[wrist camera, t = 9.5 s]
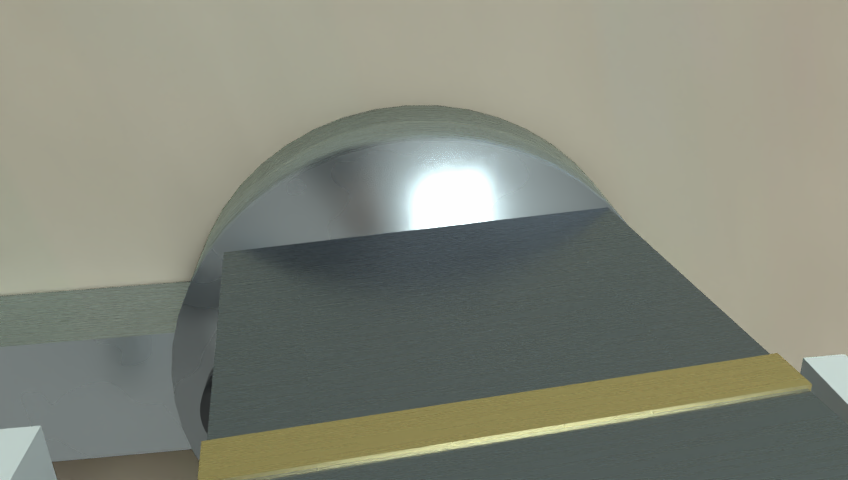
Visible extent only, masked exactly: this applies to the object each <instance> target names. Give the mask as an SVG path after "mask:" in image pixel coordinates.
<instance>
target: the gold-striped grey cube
mask: <svg viewBox="0 0 848 480" xmlns="http://www.w3.org/2000/svg"><path fill="white" fill-rule="evenodd" d="M811 388H812V384H811V383H810V382H809V381H808V380H807V379H806V378H805V377H804V376H802V375H801V374H800V373H799V372H798V371H797V370H796V369H795V368H793V367H792V366H791V365H790V364H789V363H788V362H787V361H786V360H784V359H783V358H782V357H781V356H780V355H779V354H778V353H775V354H769V353H768V352H767V351H766V350H765V349H764V348H763V347H761V346H760V345H759V344H758V343H757V342H756V341H755V340H754V339H753V338H752V337H750V336H749V335H748V334H747V333H746V332H745V331H744V330H743V329H742V328H741V327H739V326H738V325H737V324H736V323H735V322H734V321H733V320H732V319H731V318H729V317H728V316H727V315H726V314H725V313H724V312H723V311H722V310H721V309H720V308H718V307H717V306H716V305H715V304H714V303H713V302H712V301H711V300H710V299H709V298H707V297H706V296H705V295H704V294H703V293H702V292H701V291H700V290H699V289H697V288H696V287H695V286H694V285H693V284H692V283H691V282H690V281H689V280H688V279H686V278H685V277H684V276H683V275H682V274H681V273H680V272H679V271H678V270H677V269H675V268H674V267H673V266H672V265H671V264H670V263H669V262H668V261H667V260H665V259H664V258H663V257H662V256H661V255H660V254H659V253H658V252H657V251H656V250H654V249H653V248H652V247H651V246H650V245H649V244H648V243H647V242H646V241H645V240H643V239H642V238H641V237H640V236H639V235H638V234H637V233H636V232H635V231H633V230H632V229H631V228H630V227H629V226H628V225H627V224H626V223H625V222H624V221H622V220H621V219H620V218H619V217H618V216H617V215H616V214H615V213H614V212H613V211H611V210H610V209H609V208H608V207H606V208H597V209H589V210H580V211H572V212H563V213H554V214H546V215H537V216H529V217H520V218H512V219H503V220H495V221H486V222H478V223H469V224H461V225H452V226H444V227H435V228H426V229H418V230H409V231H401V232H392V233H384V234H375V235H367V236H358V237H350V238H341V239H333V240H324V241H316V242H307V243H299V244H290V245H281V246H273V247H264V248H256V249H247V250H239V251H230V252H224V255H223V266H222V277H221V289H220V300H219V311H218V322H217V333H216V345H215V356H214V367H213V378H212V389H211V401H210V412H209V423H208V434H207V440H206V441H201V450H200V460H199V470H198V480H848V424H846V423H845V422H844V421H843V420H842V419H841V418H840V417H839V416H838V415H837V414H835V413H834V412H833V411H832V410H831V409H830V408H829V407H828V406H827V405H825V404H824V403H823V402H822V401H821V400H820V399H819V398H818V397H817V396H816V395H814V394H813V393H812V392H811Z"/></svg>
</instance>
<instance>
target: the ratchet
mask: <svg viewBox="0 0 848 480" xmlns="http://www.w3.org/2000/svg"><path fill="white" fill-rule="evenodd" d="M606 207H608V208H609V209H610V210H611V211H613V212H614V213H615V214H616V215H617V216H618V217H619V218H620V219H621V220H622V221H624V220H623V219H622V217H621V216H620V215H619V214H618V213H617V211H616V210H615V209H614V208H613V206H612V205H611V204H610V203H609V202H608V200H607V199H606V198H605V197H604V195H603V194H602V193H601V192H600V191H599V189H598V188H597V187H596V186H595V185H594V183H593V182H592V181H591V180H590V179H589V178H588V177H587V176H586V175H585V173H584V172H583V171H582V170H581V169H580V168H579V167H578V166H577V165H576V164H575V163H574V162H573V161H572V160H571V159H570V158H568V157H567V156H566V155H565V154H563V153H562V152H561V151H560V150H558V149H557V148H556V147H555V146H553V145H552V144H551V143H549V142H547V141H545V140H544V139H542V138H540V137H539V136H537V135H535V134H534V133H532V132H530V131H529V130H527V129H525V128H522V127H520V126H518V125H515V124H513V123H510V122H508V121H506V120H503V119H501V118H498V117H495V116H491V115H487V114H483V113H480V112H476V111H472V110H468V109H460V108H452V107H445V106H399V107H391V108H383V109H376V110H371V111H367V112H363V113H359V114H356V115H352V116H348V117H344V118H341V119H339V120H336V121H334V122H331V123H329V124H327V125H324V126H322V127H319V128H317V129H314V130H312V131H311V132H309V133H307V134H305V135H304V136H302V137H300V138H298V139H296V140H295V141H293V142H291V143H289V144H288V145H286V146H285V147H283V148H282V149H281V150H279V151H278V152H277V153H276V154H274V155H273V156H272V157H270V158H269V159H268V160H266V161H265V162H264V163H262V164H261V165H260V166H259V167H258V168H257V169H256V170H255V171H254V172H253V173H252V174H251V175H250V176H249V177H248V178H247V179H246V180H245V181H244V182H243V183H242V184H241V185H240V187H239V188H238V189H237V191H236V192H235V193H234V195H233V196H232V197H231V199H230V200H229V201H228V203H227V204H226V206H225V207H224V208H223V210H222V212H221V214H220V215H219V217H218V219H217V221H216V223H215V225H214V227H213V228H212V230H211V232H210V234H209V237H208V239H207V242H206V244H205V247H204V249H203V252H202V254H201V257H200V259H199V262H198V264H197V267H196V269H195V272H194V275H193V277H192V280H191V281H189V282H176V283H163V284H150V285H138V286H125V287H112V288H99V289H86V290H73V291H60V292H47V293H35V294H22V295H9V296H0V429H7V428H19V427H30V426H41V428H42V431H43V434H44V438H45V441H46V444H47V448H48V451H49V454H50V458H51V461H52V462H55V461H67V460H78V459H89V458H100V457H111V456H122V455H133V454H144V453H155V452H166V451H177V450H188V449H192V450H193V452H194V454H195V456H196V457H197V459H198V460H200V450H201V441H206V440H207V434H208V423H209V412H210V401H211V389H212V378H213V367H214V356H215V345H216V333H217V322H218V311H219V300H220V289H221V277H222V266H223V255H224V252H230V251H239V250H247V249H256V248H264V247H273V246H281V245H290V244H299V243H307V242H316V241H324V240H333V239H341V238H350V237H358V236H367V235H375V234H384V233H392V232H401V231H409V230H418V229H426V228H435V227H444V226H452V225H461V224H469V223H478V222H486V221H495V220H503V219H512V218H520V217H529V216H537V215H546V214H554V213H563V212H572V211H580V210H589V209H597V208H606ZM624 222H625V221H624ZM625 223H626V222H625ZM626 224H627V223H626Z"/></svg>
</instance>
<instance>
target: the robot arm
mask: <svg viewBox="0 0 848 480" xmlns="http://www.w3.org/2000/svg"><path fill="white" fill-rule="evenodd" d="M800 374H801V375H802V376H804V377H805V378H806V379H807V380H808V381H809V382H810V383H811V384H812V388H811V392H812V393H813V394H814V395H816V396H817V397H818V398H819V399H820V400H821V401H822V402H823V403H824V404H825V405H827V406H828V407H829V408H830V409H831V410H832V411H833V412H834V413H835V414H837V415H838V416H839V417H840V418H841V419H842V420H843V421H844V422H845V423H846V424H848V357H847V356H846V355H845V354H842V355H831V356H820V357H808V358H803V362H802V367H801V373H800ZM0 480H57V478H56V474H55V471H54V468H53V464H52V461H51V458H50V454H49V451H48V448H47V444H46V441H45V438H44V434H43V431H42V428H41V426H30V427H19V428H7V429H0Z"/></svg>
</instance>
